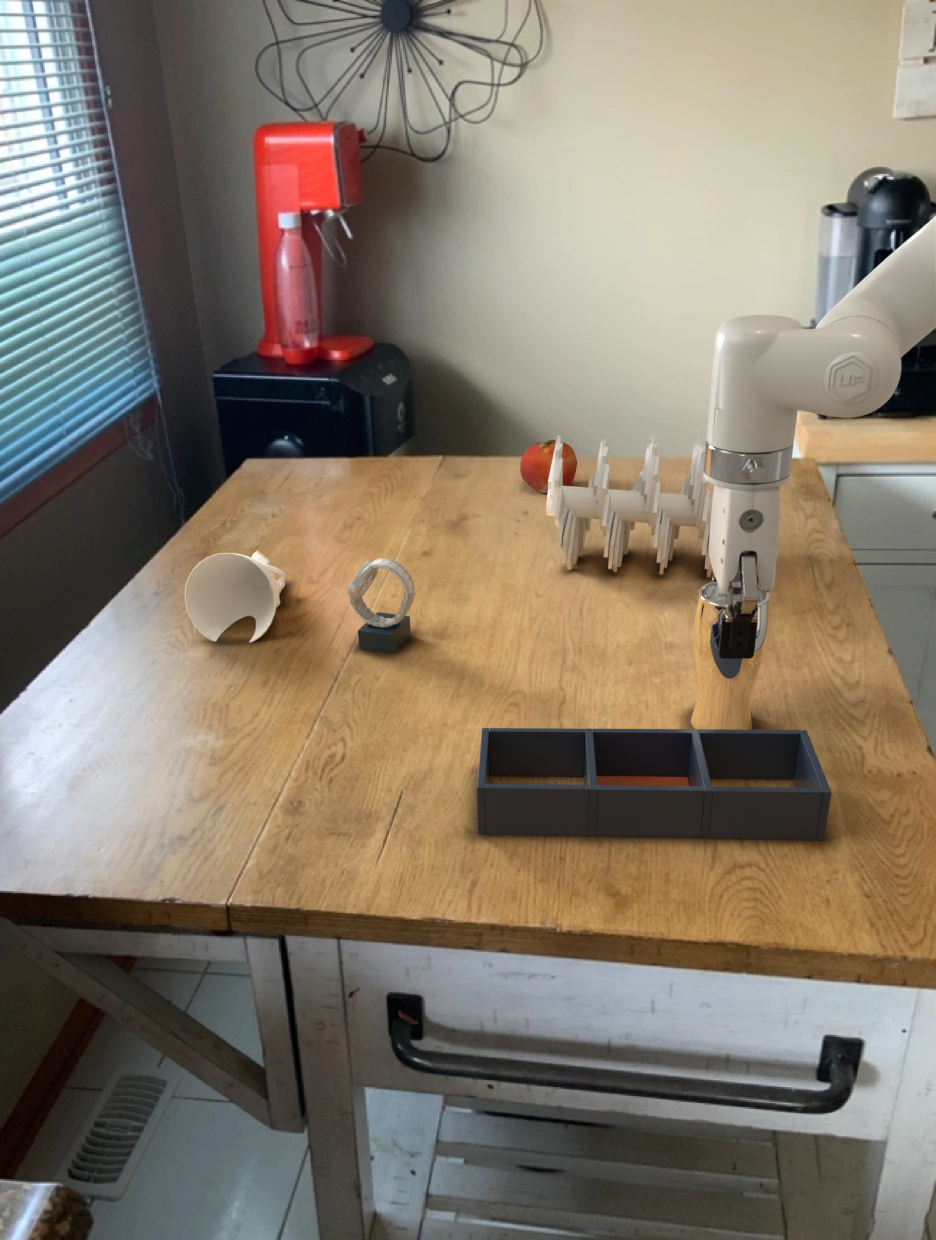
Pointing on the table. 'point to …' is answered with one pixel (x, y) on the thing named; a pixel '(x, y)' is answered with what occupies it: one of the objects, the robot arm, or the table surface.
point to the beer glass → (724, 664)
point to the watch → (381, 627)
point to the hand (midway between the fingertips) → (729, 637)
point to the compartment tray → (652, 783)
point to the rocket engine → (232, 592)
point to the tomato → (546, 465)
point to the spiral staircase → (628, 507)
